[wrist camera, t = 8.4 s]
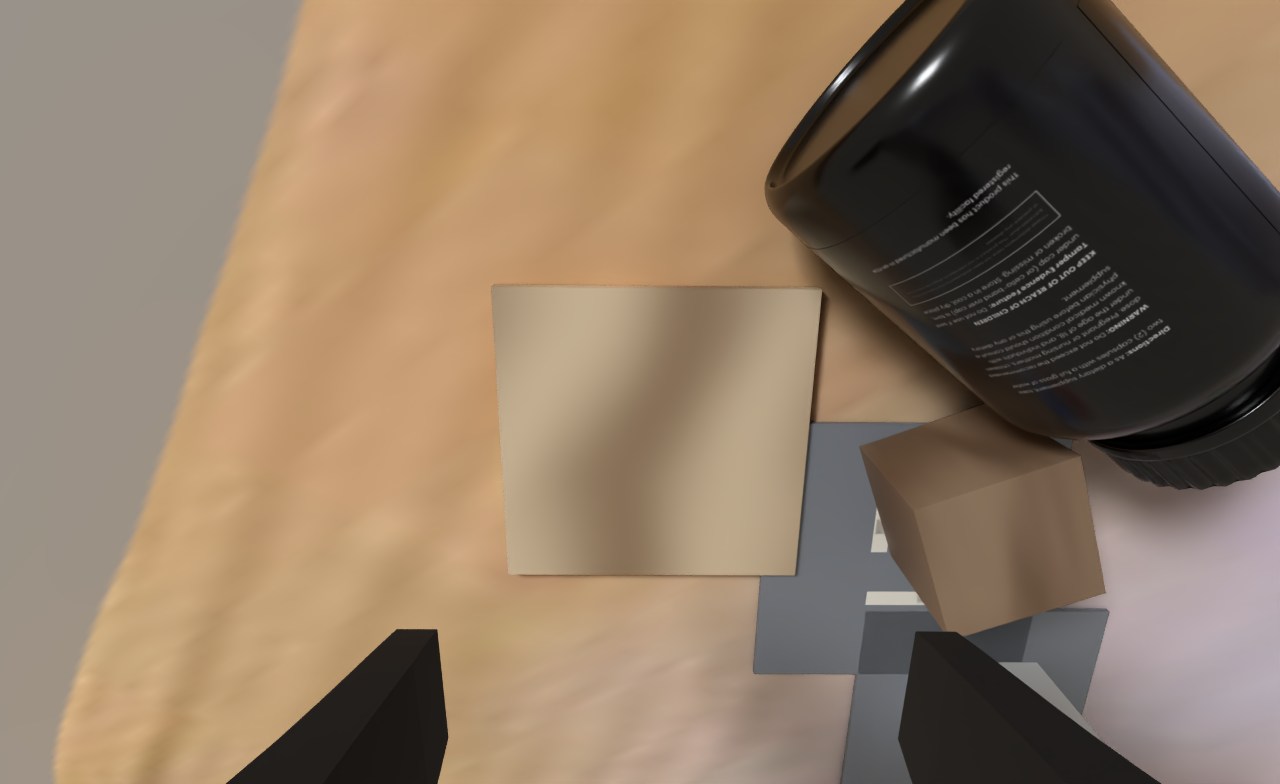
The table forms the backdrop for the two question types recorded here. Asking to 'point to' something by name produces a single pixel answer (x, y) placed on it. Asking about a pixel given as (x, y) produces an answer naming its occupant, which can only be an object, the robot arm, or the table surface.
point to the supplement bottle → (1053, 229)
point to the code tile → (845, 571)
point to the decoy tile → (1053, 642)
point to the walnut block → (985, 519)
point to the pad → (654, 426)
